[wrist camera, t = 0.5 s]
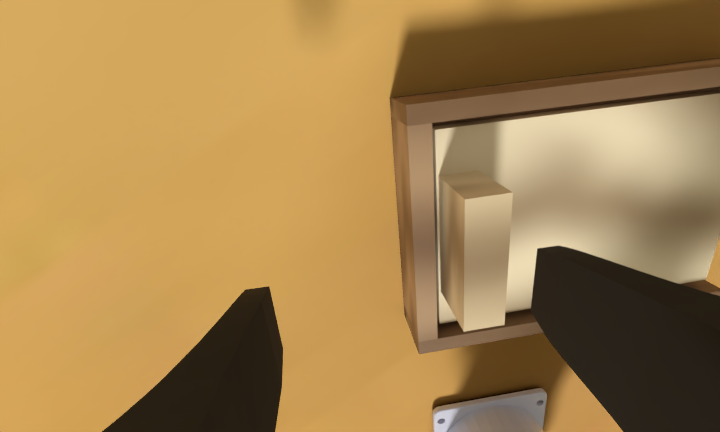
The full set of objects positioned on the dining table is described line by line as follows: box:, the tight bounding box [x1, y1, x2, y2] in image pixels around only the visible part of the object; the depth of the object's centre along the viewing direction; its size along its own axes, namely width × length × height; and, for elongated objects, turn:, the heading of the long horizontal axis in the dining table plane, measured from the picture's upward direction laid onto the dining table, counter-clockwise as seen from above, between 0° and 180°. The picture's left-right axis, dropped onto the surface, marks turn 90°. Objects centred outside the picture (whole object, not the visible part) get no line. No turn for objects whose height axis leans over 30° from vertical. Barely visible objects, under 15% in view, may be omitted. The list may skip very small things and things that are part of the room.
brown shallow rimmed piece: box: [390, 58, 720, 354], centre depth 18 cm, size 12×17×3 cm
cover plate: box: [432, 90, 720, 332], centre depth 17 cm, size 10×15×4 cm, turn 96°
